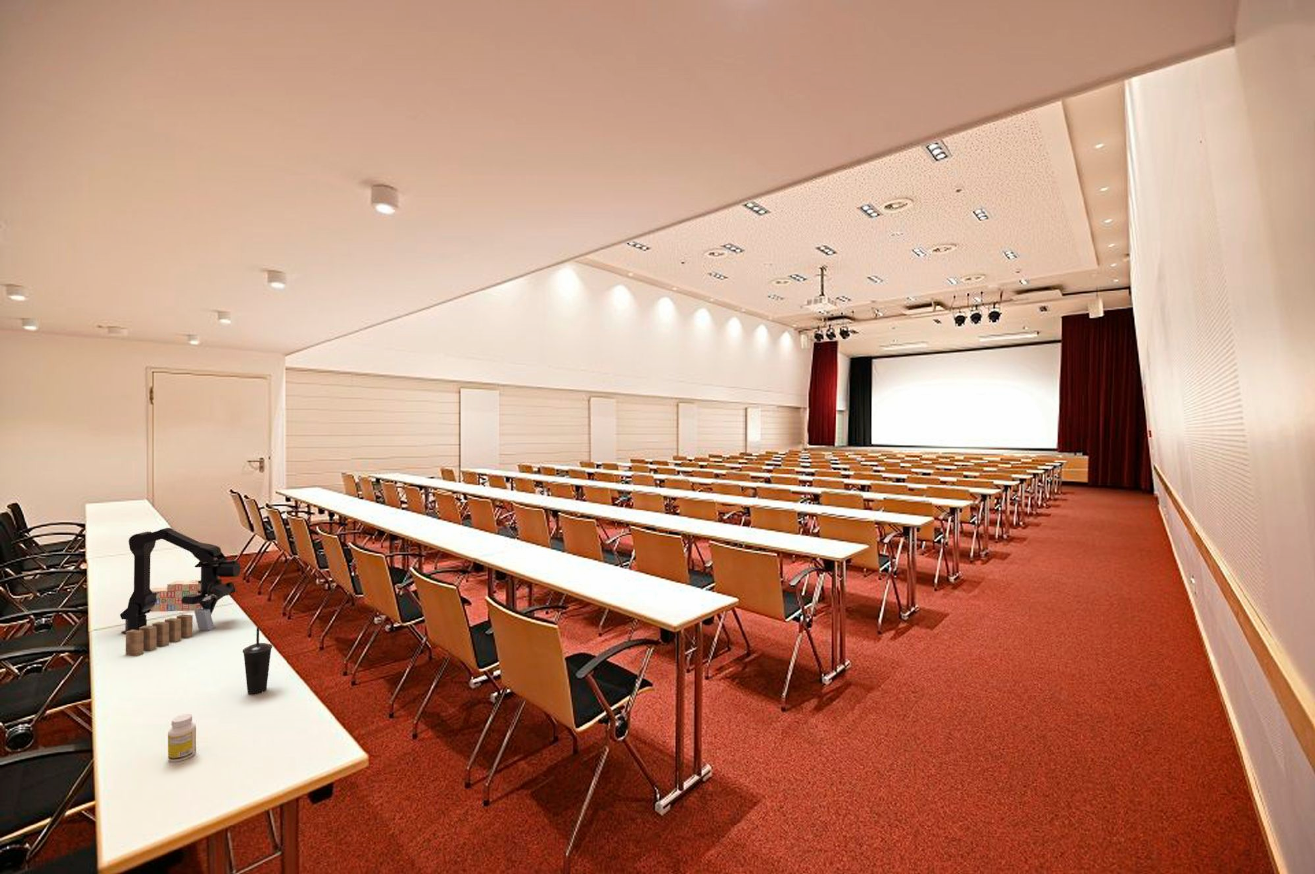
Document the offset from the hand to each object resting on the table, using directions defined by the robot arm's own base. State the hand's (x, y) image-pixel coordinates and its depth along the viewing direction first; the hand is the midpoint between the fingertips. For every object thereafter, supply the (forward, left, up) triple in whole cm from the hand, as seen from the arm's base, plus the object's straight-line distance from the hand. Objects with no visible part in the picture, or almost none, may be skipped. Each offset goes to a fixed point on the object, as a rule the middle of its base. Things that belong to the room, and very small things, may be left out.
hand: (209, 615), depth 234 cm
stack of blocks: (-39, +18, -6) cm, 43 cm away
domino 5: (0, -10, -6) cm, 12 cm away
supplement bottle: (+81, -77, -6) cm, 112 cm away
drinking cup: (+68, -43, -6) cm, 81 cm away
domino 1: (0, -28, -6) cm, 29 cm away
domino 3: (0, -19, -6) cm, 20 cm away
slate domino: (0, -1, -5) cm, 5 cm away
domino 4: (0, -15, -6) cm, 16 cm away
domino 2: (0, -24, -6) cm, 24 cm away
